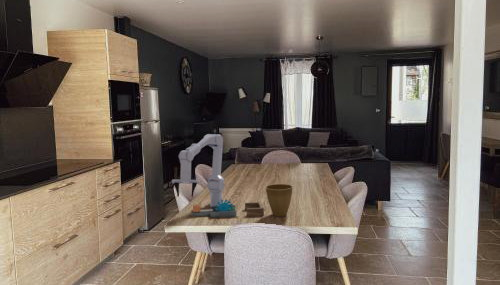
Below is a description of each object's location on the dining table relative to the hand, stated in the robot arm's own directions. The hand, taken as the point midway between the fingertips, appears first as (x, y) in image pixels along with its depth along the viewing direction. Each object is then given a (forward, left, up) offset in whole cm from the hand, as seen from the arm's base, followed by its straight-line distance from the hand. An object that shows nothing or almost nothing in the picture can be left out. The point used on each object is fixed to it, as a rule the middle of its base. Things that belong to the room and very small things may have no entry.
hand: (185, 196), depth 209 cm
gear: (-2, +22, -12) cm, 25 cm away
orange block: (-2, +9, -11) cm, 15 cm away
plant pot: (+5, +52, -12) cm, 53 cm away
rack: (-2, +38, -12) cm, 40 cm away
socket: (-2, +15, -12) cm, 19 cm away
